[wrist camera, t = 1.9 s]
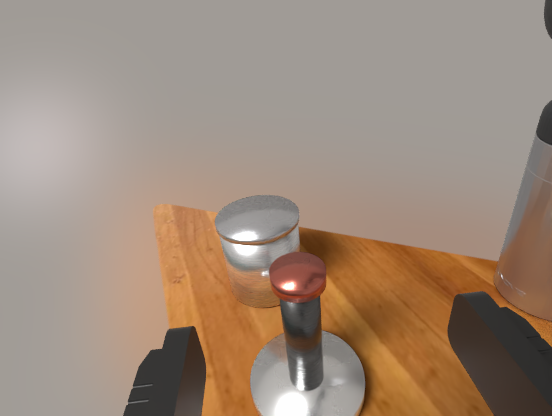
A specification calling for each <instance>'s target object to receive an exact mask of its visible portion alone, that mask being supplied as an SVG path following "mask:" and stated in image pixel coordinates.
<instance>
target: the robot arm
mask: <svg viewBox="0 0 552 416" xmlns="http://www.w3.org/2000/svg"><path fill="white" fill-rule="evenodd" d="M544 19H545V26H546V29H547V32H548V34H549V35H550V37H551V38H552V0H546V1H545V9H544ZM494 283H495V286H496V288H497V290H498V291H499V292H500V294H501V295H502V296H503V297H504V298H505V299H506V300H507V301H509V302H510V303H511V304H513V305H514V306H516V307H517V308H519V309H521V310H523V311H525V312H527V313H529V314H531V315H534V316H536V317H539V318H542V319H545V320H549V321H552V101H550V102H549V103H548V104H547V105H546V106H545V107H544V109H543V111H542V114H541V116H540V120H539V123H538V127H537V130H536V133H535V137H534V140H533V144H532V147H531V150H530V154H529V157H528V161H527V165H526V168H525V172H524V175H523V178H522V182H521V186H520V189H519V192H518V196H517V199H516V203H515V206H514V209H513V213H512V216H511V220H510V223H509V227H508V230H507V233H506V237H505V241H504V244H503V247H502V250H501V254H500V258H499V261H498V265H497V268H496V271H495V275H494ZM448 337H449V341H450V344H451V346H452V348H453V350H454V352H455V353H456V355H457V357H458V358H459V360H460V361H461V363H462V365H463V366H464V368H465V369H466V371H467V373H468V374H469V376H470V377H471V379H472V381H473V382H474V384H475V385H476V387H477V389H478V390H479V392H480V393H481V395H482V397H483V398H484V400H485V401H486V403H487V405H488V406H489V408H490V409H491V411H492V413H493V414H494V416H552V347H551V346H550V345H549V344H548V343H547V342H546V341H545V340H544V339H542V338H541V335H540V334H539V333H538V332H537V331H536V330H535V329H534V328H533V327H532V326H531V325H530V324H529V322H528V321H527V320H526V319H524V318H523V317H521V316H520V315H518V314H517V313H515V312H513V311H512V310H510V309H509V308H507V307H502V308H500V307H499V306H498V305H497V304H496V302H495V301H494V300H493V299H492V298H491V297H490V296H489V295H488V294H487V293H486V292H483V291H480V292H472V293H464V294H457V295H456V296H455V298H454V302H453V306H452V311H451V315H450V320H449V325H448ZM205 381H206V363H205V358H204V354H203V351H202V348H201V345H200V341H199V338H198V335H197V332H196V329H195V327H194V326H190V327H182V328H174V329H169V330H168V331H167V333H166V336H165V340H164V344H163V348H162V349H156V350H151V351H150V352H149V354H148V355H147V357H146V358H145V359H144V361H143V362H142V363H141V365H140V366H139V368H138V371H137V374H136V378H135V381H134V384H133V389H132V390H131V393H130V396H129V399H128V405H127V406H126V409H125V412H124V415H123V416H201V414H202V406H203V397H204V389H205Z"/></svg>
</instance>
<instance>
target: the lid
mask: <svg viewBox="0 0 552 416" xmlns="http://www.w3.org/2000/svg"><path fill="white" fill-rule="evenodd" d="M269 277H270V283H271V289H272V291H273V293H274V294H275V295H276V296H277V297H278V298H279V299H280V306H281V314H282V322H283V329H284V333H283V334H280V335H279V336H277V337H275V338H274V339H272V340H271V341H270V342H268V343H267V344H266V345H265V346H264V347H263V349H262V350H261V351H260V352H259V354H258V355H257V357H256V359H255V361H254V364H253V367H252V371H251V378H250V385H251V392H252V397H253V401H254V405H255V408H256V410H257V412H258V414H259V416H359V414H360V412H361V409H362V406H363V402H364V397H365V375H364V371H363V367H362V364H361V362H360V360H359V358H358V356H357V355H356V353H355V352H354V350H353V349H352V348H351V347H350V346H349V345H348V344H347V343H346V342H344V341H343V340H342V339H340V338H339V337H337V336H335V335H333V334H331V333H329V332H326V331H322V329H321V308H320V295H321V294H322V293H323V291H324V290H325V287H326V267H325V264H324V262H323V261H322V260H321V259H320V258H319V257H317V256H315V255H313V254H310V253H306V252H293V253H288V254H285V255H282V256H280V257H279V258H277V259H276V260H275V261H274V262H273V263H272V264H271V266H270V268H269Z"/></svg>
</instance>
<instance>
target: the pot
mask: <svg viewBox="0 0 552 416" xmlns="http://www.w3.org/2000/svg"><path fill="white" fill-rule="evenodd" d="M298 222H299V210H298V207H297V206H296V205H295V204H294V203H293V202H292V201H290V200H289V199H286V198H283V197H280V196H273V195H258V196H251V197H246V198H243V199H240V200H237V201H235V202H232V203H231V204H229V205H227V206H225V207H224V208H223V209H222V210H221V211H220V212H219V213H218V214H217V216H216V218H215V226H216V230H217V233H218V234H219V236H220V240H221V244H222V249H223V253H224V258H225V262H226V267H227V271H228V275H229V280H230V284H231V289H232V292H233V295H234V296H235V297H236V298H237V299H238V300H239V301H240V302H241V303H243V304H245V305H248V306H252V307H258V308H266V307H273V306H277V305H280V299H279V298H278V297H277V296H276V295H275V294H274V293H273V291H272V289H271V283H270V277H269V268H270V266H271V264H272V263H273V262H274V261H275V260H276V259H277V258H279V257H280V256H282V255H285V254H288V253H293V252H300V242H299V229H298Z"/></svg>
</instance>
